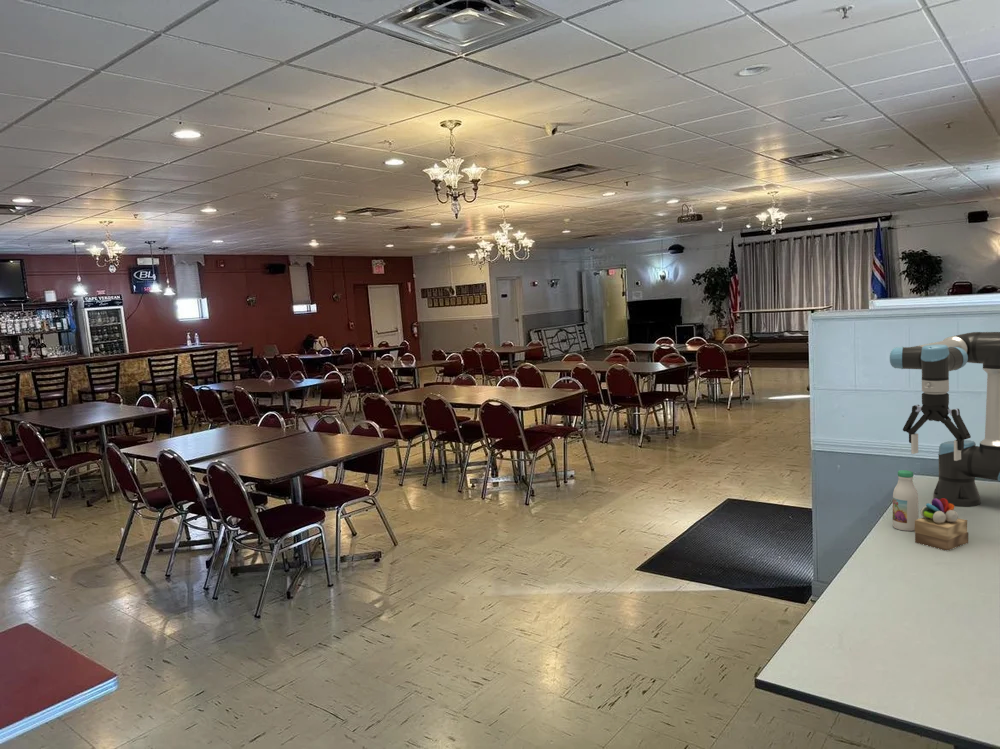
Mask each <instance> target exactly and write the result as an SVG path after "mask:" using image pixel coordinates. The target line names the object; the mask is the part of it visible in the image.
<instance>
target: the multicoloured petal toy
mask: <svg viewBox="0 0 1000 749" xmlns="http://www.w3.org/2000/svg"><path fill="white" fill-rule="evenodd" d="M920 514H921V516H922V518H923V517H924V518H926V519H928V518H933V520H934V522H936V523H943V522H944V521H945V520H946V521H948V522H955V521H956V520H957V519H958V518H959V514H958V513H957V511H956V510H955V506H954V505H953V504H951V503H948V500H947V499H945V498H942V499H940V500H939V499H937V498H935V499H933V498H932V500H931V503H929V502H928V503H926V504H925V506H923V507H922V508H921V510H920Z"/></svg>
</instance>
